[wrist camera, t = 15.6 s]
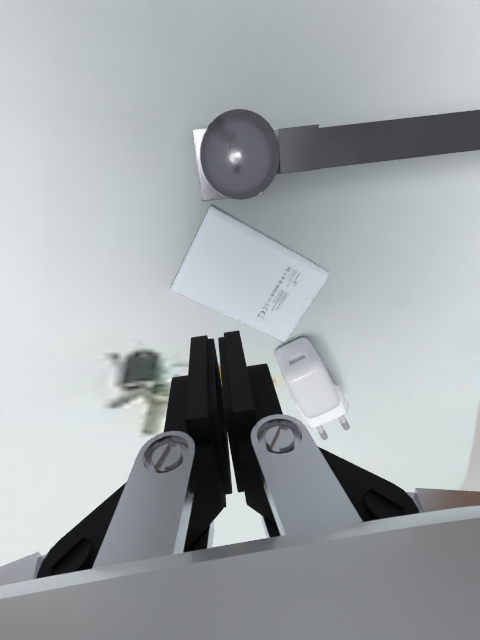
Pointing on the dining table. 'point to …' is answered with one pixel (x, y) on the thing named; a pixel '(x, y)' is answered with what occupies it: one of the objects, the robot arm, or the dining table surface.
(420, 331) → the dining table surface
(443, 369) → the dining table surface
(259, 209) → the dining table surface
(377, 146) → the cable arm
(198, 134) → the post
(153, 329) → the dining table surface
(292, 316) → the external hard drive
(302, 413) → the power adapter
